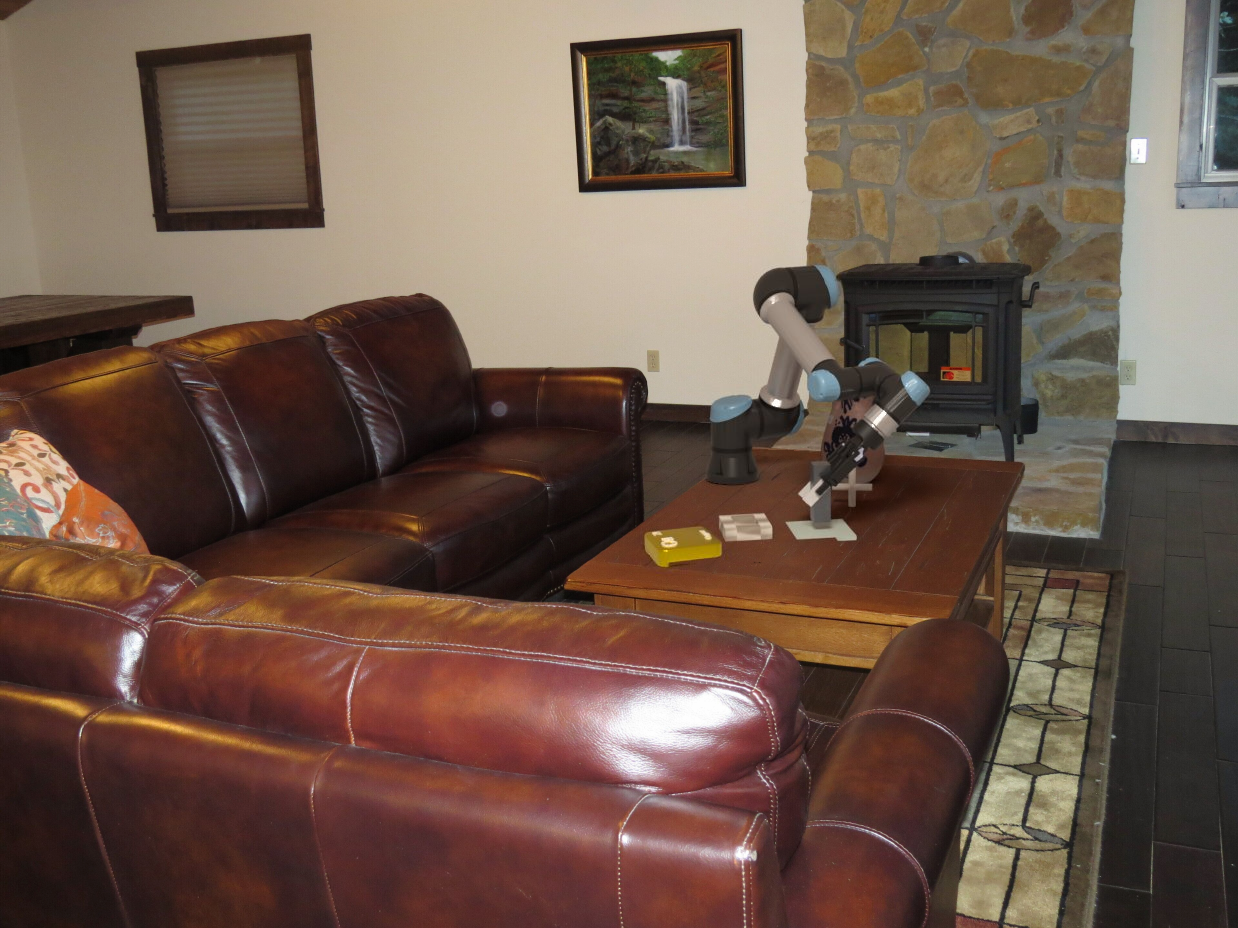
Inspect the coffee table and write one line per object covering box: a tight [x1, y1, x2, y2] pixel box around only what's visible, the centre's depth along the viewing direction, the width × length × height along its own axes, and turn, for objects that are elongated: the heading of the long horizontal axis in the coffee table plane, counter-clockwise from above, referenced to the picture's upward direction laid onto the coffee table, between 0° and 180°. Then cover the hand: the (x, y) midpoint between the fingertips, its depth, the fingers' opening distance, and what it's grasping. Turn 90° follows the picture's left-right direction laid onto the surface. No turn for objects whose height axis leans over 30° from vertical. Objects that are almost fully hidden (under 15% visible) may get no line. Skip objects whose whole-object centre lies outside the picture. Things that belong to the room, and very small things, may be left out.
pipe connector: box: [831, 468, 873, 508], centre depth 289 cm, size 10×10×10 cm
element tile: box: [644, 525, 723, 568], centre depth 258 cm, size 15×15×5 cm
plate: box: [785, 518, 858, 542], centre depth 269 cm, size 14×14×1 cm
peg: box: [809, 460, 832, 523], centre depth 266 cm, size 4×4×14 cm
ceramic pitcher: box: [820, 396, 886, 484], centre depth 312 cm, size 18×21×25 cm
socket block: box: [718, 512, 773, 542], centre depth 268 cm, size 11×11×4 cm
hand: (804, 500), depth 267 cm, fingers closed on peg, 4 cm apart
